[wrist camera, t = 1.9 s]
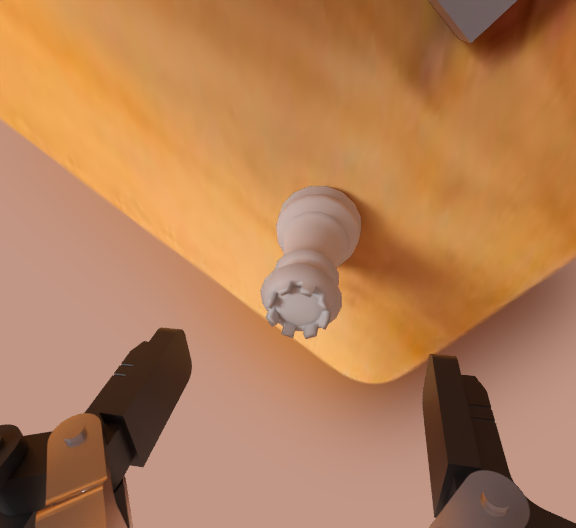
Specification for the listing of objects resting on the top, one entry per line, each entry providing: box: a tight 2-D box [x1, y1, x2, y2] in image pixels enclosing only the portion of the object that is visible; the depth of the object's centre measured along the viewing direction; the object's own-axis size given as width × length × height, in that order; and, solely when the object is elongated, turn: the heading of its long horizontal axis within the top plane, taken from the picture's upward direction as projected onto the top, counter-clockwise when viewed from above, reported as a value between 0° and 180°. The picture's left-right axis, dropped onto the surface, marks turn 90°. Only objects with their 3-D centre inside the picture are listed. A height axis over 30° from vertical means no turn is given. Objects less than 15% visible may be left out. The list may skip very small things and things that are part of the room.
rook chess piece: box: [261, 186, 361, 339], centre depth 19 cm, size 4×4×8 cm
